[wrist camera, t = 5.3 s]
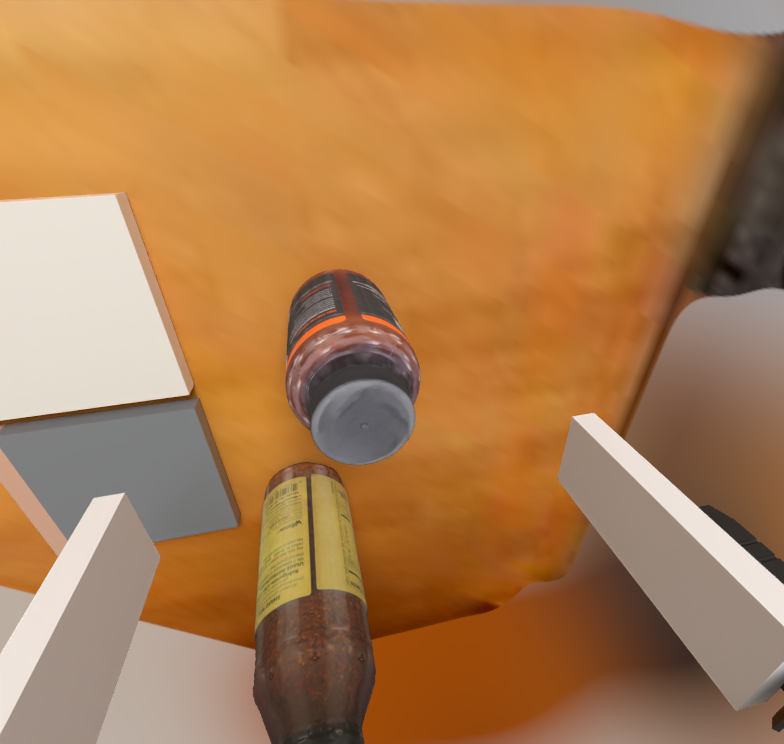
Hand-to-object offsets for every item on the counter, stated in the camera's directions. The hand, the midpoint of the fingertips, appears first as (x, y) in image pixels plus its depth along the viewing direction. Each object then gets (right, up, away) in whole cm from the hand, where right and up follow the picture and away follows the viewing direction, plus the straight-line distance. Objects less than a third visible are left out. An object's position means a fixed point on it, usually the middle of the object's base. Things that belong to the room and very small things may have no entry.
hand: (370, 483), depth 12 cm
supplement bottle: (-3, +7, +12) cm, 14 cm away
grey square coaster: (-17, -4, +15) cm, 23 cm away
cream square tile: (-17, +7, +9) cm, 21 cm away
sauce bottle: (-6, -6, +19) cm, 20 cm away
